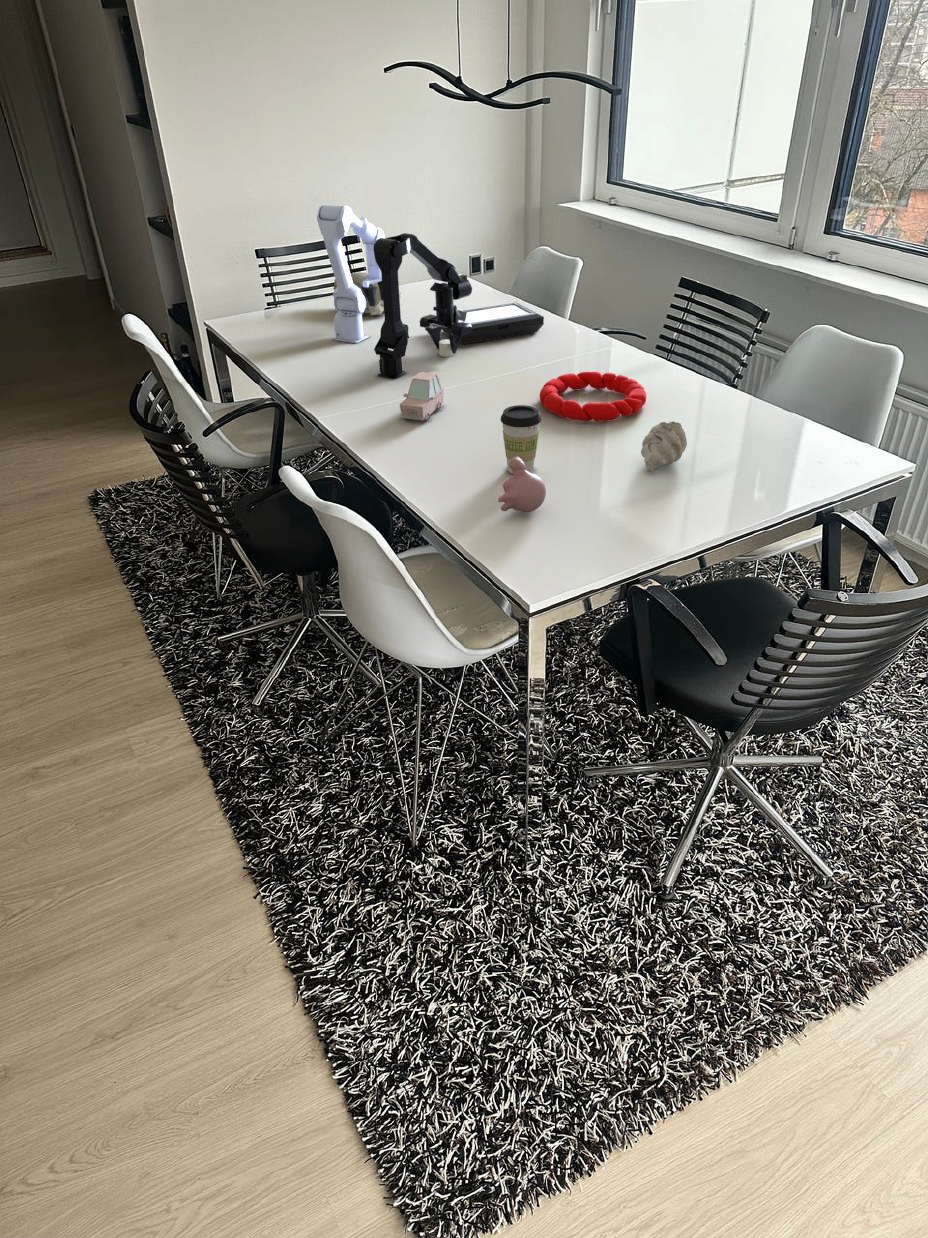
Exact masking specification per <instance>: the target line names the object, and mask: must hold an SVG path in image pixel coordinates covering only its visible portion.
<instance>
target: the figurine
mask: <svg viewBox="0 0 928 1238" xmlns="http://www.w3.org/2000/svg"><path fill="white" fill-rule="evenodd" d="M509 467H510V468H511V469H512V473H511V475H512V476H510V477H508V479H506V480H505V481H503V484H502V488H503V491H504V493H503V494H501V495H500V496H499V497H498V498H497V500H498V501H497V502H498V503H502V505H501V506H500V510H501V511H502V512H507V511H509V510H514V511H517V512H520V513H531V512H534V511H536V510H537V509H539V508H540V507H541V506H542V505H543V503H544V501H545V500H546V494H547V489H546V485H545V483H544V481H543V480H542V479H541V477H540V476H538V475H537V474H535V473H532V472H531V473H529V472H528V471H526V466H525V464H524V462H523V461H522V460H521V459H520V458H519V457H514V458H512V459H511V460H510V461H509Z"/></svg>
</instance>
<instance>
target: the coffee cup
mask: <svg viewBox="0 0 928 1238" xmlns="http://www.w3.org/2000/svg"><path fill="white" fill-rule="evenodd" d="M499 419H500V422H501V423H502V435H503V444H504V445H503V446H504V452H505V458H506V464H507V471H508V472H509V473H510V474H512V469H511V468H510V467H509V461H510V460H511V459H512V458H514V457H519V458H520V459H521V460H522V461H523V462H524V464H525V466H526V471H528V472H529V473H532V472H534V465H535V458H536V455H537V450H538V449H537V448H538V443H539V434H540V423H541V422H542V420H543V419H542V415H541V414H540V410H539V409H538V408H537V407H534V406H531V405H525V404H516V405H511V406H508V407H506V408H504V409H503V411H502V414H501V416H500V418H499Z"/></svg>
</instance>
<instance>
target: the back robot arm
mask: <svg viewBox="0 0 928 1238" xmlns="http://www.w3.org/2000/svg"><path fill="white" fill-rule="evenodd" d="M316 221H317V223H318V228H319V231H320V234H321V236H322V238H323V243H324V246H325V249H326V253H327V256H328V259H329V263H330V266H331V270H332V274H333V276H334V280H336V283H337V286H338V287H337V288H336V289H335V291H334V290H333V292H332V296H333V306H334V308H335V310H336V311H337V312H336V314H335V315H334V317H333V326H334V333H335V335H334V336H335V338H334V341H338V342H345V343H352V344H358V343H360V342H362V341H364V340H366V339H368V338H369V337H370V336H369V335H368V334H367V335H366V334H364V326H363V315H362V313H363V312H364V313H365V311H366V309H367V308H366V300H365V297H364V295H363V294H362V292H361V289H360V288H358V287H357V286H356V285H354V284H353V281H352V278H351V274H352V273H351V271H350V267H349V264H348V261H347V257H346V254H345V250H344V246H343V242H342V239H343V238H345V237H346V235H347V233H348V231H349V228H352V232H353V233H354V234H355V235H356V236H357V237H359V238H360V239H361V242H362V244H363V245H365V257H366V266H367V267H366V268H367V274H368V277H367V278H366V279H365V280H364V281H362V283H363V285H362V290H363V291H364V293H365V294H366V297H367V299H368V302H369V305H370V306H375V304H376V290H377V287H373V285H372V284H375V283H377V284H378V286H379V290H380V296H381V300H382V301H383V289H382V275H381V270H380V268H379V266H378V265H377V263H376V260H375V256H374V250H373V248H374V244H375V243H376V241H377V240H378V239H379V238H386V235H385V232H384V230H383V229H382V228H381V227H376V226H375V225H374V224H373V223H372V222H370V221H368V219H367V218H366V217H363V216H362V217H358V216H357V215H356V214H354V212H353V210H352V208H351V207H350V206H349V205H330V204H323V203H322V204H320V206H319V207H318V210H317V215H316Z"/></svg>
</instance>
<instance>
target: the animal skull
mask: <svg viewBox="0 0 928 1238" xmlns="http://www.w3.org/2000/svg"><path fill="white" fill-rule="evenodd" d="M350 274H351V278H352V281H353V284H354V285H356V286H357V287H358V288H360V289H361V292H362V294H363V295H364V297H365V300H366V308H365V309H367V310H368V311H369V314H370V316H374V315H375V316H383V313H384V303H383V301H382V300H381V296H380V290H379V286H378V284H377V283H375V284H372V285H373V287H377V290H376V304H375V306H370V305H369V302H368V299H367V297H366V294H365V293H364V291H363V290H362V285H363V283H362V281H364V280H365V279H366V278H367V277H368V272H360V271H359V272H352V273H350ZM333 282H334V283H333V292H334V291H335V289H336V288H337V287H338V286H337V283H336V280H335V279H334V281H333ZM401 294H402V293H401V290H399V298H400V299H401ZM363 315H365V311H364V312H363V313H362V316H363Z"/></svg>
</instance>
